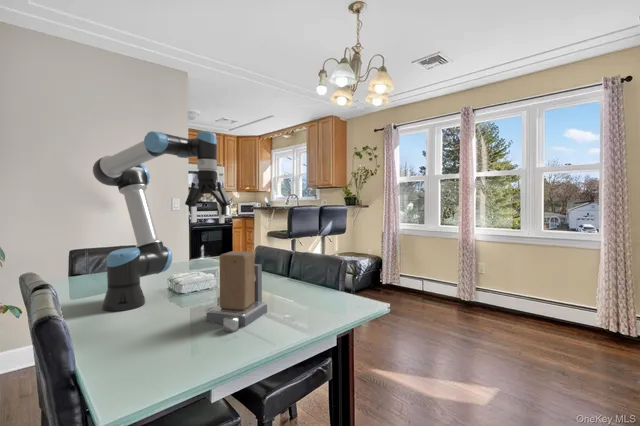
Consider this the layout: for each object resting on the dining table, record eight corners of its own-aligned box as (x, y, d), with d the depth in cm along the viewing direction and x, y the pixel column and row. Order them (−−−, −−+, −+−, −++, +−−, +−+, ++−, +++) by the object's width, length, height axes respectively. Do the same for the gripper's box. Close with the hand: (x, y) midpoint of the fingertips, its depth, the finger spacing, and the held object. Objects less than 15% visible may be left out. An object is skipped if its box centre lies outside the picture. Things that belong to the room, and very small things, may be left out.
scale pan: (208, 320, 119) (208, 309, 119) (232, 307, 133) (232, 298, 133) (244, 325, 114) (244, 314, 114) (265, 311, 128) (265, 302, 128)
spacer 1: (214, 308, 134) (214, 298, 134) (222, 304, 138) (222, 295, 138) (225, 309, 132) (225, 299, 132) (232, 305, 137) (232, 296, 137)
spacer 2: (220, 331, 109) (220, 319, 109) (229, 326, 114) (229, 315, 114) (233, 333, 108) (233, 321, 108) (241, 328, 112) (241, 316, 112)
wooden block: (244, 311, 118) (243, 255, 117) (218, 309, 120) (218, 254, 119) (255, 302, 127) (255, 251, 127) (231, 301, 130) (231, 250, 129)
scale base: (206, 321, 119) (206, 271, 118) (236, 305, 137) (235, 262, 136) (245, 326, 114) (244, 274, 113) (270, 309, 132) (270, 265, 131)
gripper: (175, 170, 134) (176, 222, 135) (228, 168, 126) (228, 224, 127) (188, 172, 141) (189, 221, 142) (238, 170, 133) (239, 222, 134)
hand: (207, 222), depth 134 cm, fingers open, 13 cm apart
